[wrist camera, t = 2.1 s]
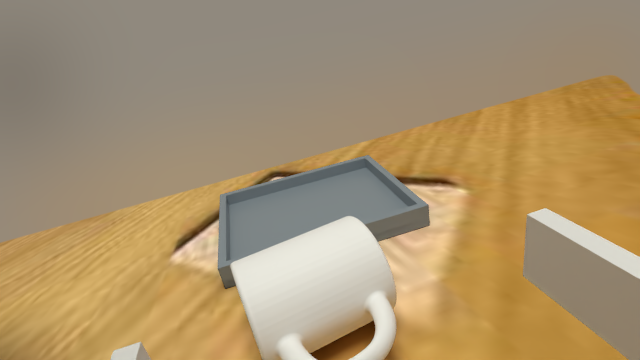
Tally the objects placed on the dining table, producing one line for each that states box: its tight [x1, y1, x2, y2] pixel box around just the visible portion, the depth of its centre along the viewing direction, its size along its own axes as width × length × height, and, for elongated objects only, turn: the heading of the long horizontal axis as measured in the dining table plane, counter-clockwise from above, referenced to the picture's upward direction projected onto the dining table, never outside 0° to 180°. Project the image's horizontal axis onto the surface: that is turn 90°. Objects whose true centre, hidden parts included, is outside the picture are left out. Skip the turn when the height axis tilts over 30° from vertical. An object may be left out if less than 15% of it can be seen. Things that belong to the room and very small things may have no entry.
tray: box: [218, 155, 429, 289], centre depth 42 cm, size 22×17×2 cm
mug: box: [230, 216, 396, 360], centre depth 24 cm, size 12×10×8 cm
